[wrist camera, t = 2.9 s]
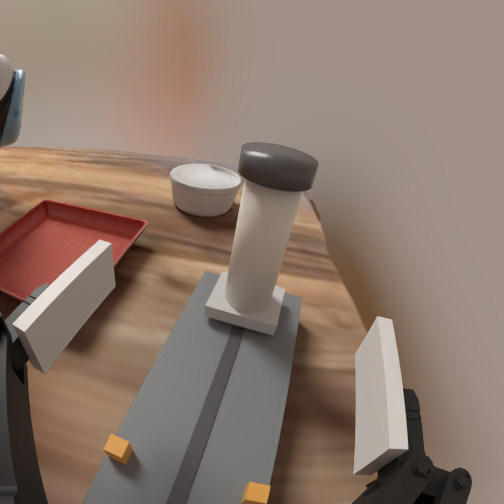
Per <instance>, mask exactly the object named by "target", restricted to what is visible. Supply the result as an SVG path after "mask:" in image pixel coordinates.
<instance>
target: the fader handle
mask: <svg viewBox="0 0 504 504" xmlns="http://www.w3.org/2000/svg"><path fill="white" fill-rule="evenodd" d="M317 167H318V161H317V160H316V159H315V158H313V157H312V156H310V155H308V154H306V153H304V152H301V151H299V150H296V149H293V148H290V147H286V146H282V145H277V144H270V143H260V142H258V143H257V142H254V143H246V144H244V145H243V146H242V150H241V155H240V160H239V166H238V172H239V174H240V175H241V176H243V177H244V178H245V182H244V187H243V193H242V198H241V203H240V209H239V214H238V220H237V225H236V231H235V236H234V242H233V248H232V253H231V259H230V265H229V271H228V273H227V272H223V271H222V273H221V275H220V277H219V279H218V281H217V283H216V285H215V287H214V289H213V291H212V293H211V295H210V297H209V299H208V301H207V303H206V305H205V313H204V316H207V317H210V318H213V319H217V320H220V321H223V322H227V323H230V324H234V325H237V326H241V327H244V328H248V329H251V330H255V331H258V332H262V333H266V334H269V335H273V336H274V333H275V331H276V328H277V324H278V319H279V315H280V310H281V305H282V300H283V296H284V291H285V288H281V287H278V286H275V285H276V281H277V278H278V275H279V271H280V268H281V264H282V261H283V257H284V254H285V250H286V247H287V243H288V240H289V236H290V233H291V229H292V225H293V222H294V218H295V215H296V211H297V207H298V204H299V200H300V196H301V193H302V191H307V190H309V189H311V188H312V186H313V182H314V178H315V175H316V171H317Z"/></svg>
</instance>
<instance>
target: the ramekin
mask: <svg viewBox="0 0 504 504" xmlns="http://www.w3.org/2000/svg"><path fill="white" fill-rule="evenodd" d="M170 180H171V183H172V194H173V200H174V203H175V204H176V205H177V207H178V208H179V209H180V210H182V211H184V212H186V213H188V214H191V215H195V216H202V217H213V216H218V215H222V214H224V213H225V212H227V211H228V210H229V209H230V208H231V207H232V204H233V202H234V199H235V197H236V194H237V191H238V190H239V188H240V186H241V179H240V177H239V176H238V175H237V174H235V173H234V172H232V171H230V170H228V169H225V168H222V167H219V166H214V165H208V164H186V165H181V166H178V167H176V168H174V169H173V170H172V171H171V172H170Z"/></svg>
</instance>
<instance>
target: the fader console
mask: <svg viewBox="0 0 504 504" xmlns="http://www.w3.org/2000/svg"><path fill="white" fill-rule="evenodd" d="M219 277H220V275H218V274H215V273H211V272H208V271H205V273H204V275H203V276H202V278H201V280H200V282H199V283H198V285H197V287H196V289H195V290H194V292H193V294H192V296H191V297H190V299H189V301H188V303H187V304H186V306H185V308H184V310H183V312H182V313H181V315H180V317H179V319H178V320H177V322H176V324H175V326H174V328H173V329H172V331H171V333H170V335H169V337H168V338H167V340H166V342H165V344H164V346H163V348H162V349H161V351H160V353H159V355H158V357H157V359H156V360H155V362H154V364H153V366H152V368H151V370H150V371H149V373H148V375H147V377H146V379H145V381H144V383H143V384H142V386H141V388H140V390H139V392H138V394H137V396H136V398H135V400H134V401H133V403H132V405H131V407H130V409H129V411H128V413H127V415H126V417H125V419H124V420H123V422H122V424H121V426H120V428H119V430H118V432H117V434H116V436H115V435H113V434H111V435H110V437H109V439H108V441H107V443H106V445H105V447H104V451H105V452H106V456H105V458H104V460H103V462H102V464H101V466H100V468H99V470H98V472H97V474H96V476H95V478H94V480H93V482H92V484H91V486H90V488H89V490H88V492H87V494H86V496H85V498H84V500H83V502H82V504H267V500H268V496H269V491H270V487H271V486H270V481H271V477H272V472H273V467H274V462H275V458H276V453H277V448H278V443H279V438H280V432H281V427H282V422H283V416H284V411H285V405H286V400H287V394H288V388H289V382H290V376H291V370H292V364H293V357H294V351H295V344H296V337H297V330H298V323H299V316H300V309H301V301H302V297H298V296H294V295H291V294H287V293H284V296H283V300H282V305H281V310H280V315H279V319H278V324H277V328H276V331H275V333H274V336H273V335H269V334H266V333H262V332H258V331H255V330H251V329H248V328H244V327H241V326H237V325H234V324H230V323H227V322H223V321H220V320H217V319H213V318H210V317H207V316H204V313H205V305H206V303H207V301H208V299H209V297H210V295H211V293H212V291H213V289H214V287H215V285H216V283H217V281H218V279H219Z"/></svg>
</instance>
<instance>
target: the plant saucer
mask: <svg viewBox="0 0 504 504" xmlns="http://www.w3.org/2000/svg"><path fill="white" fill-rule="evenodd" d="M147 224H148V223H147V221H145V220H141V219H137V218H132V217H128V216H123V215H118V214H114V213H109V212H105V211H100V210H95V209H91V208H86V207H82V206H77V205H72V204H67V203H62V202H58V201H53V200H43V201H41V202H39V203H38V204H37V205H35V206H34V207H33V208H31V209H30V210H29V211H28V212H26V213H25V214H24V215H22V216H21V217H20V218H18V219H17V220H16V221H15V222H13V223H12V224H11V225H10V226H8V227H7V228H6V229H5V230H4V231H2V232H1V233H0V292H2V293H4V294H6V295H8V296H10V297H12V298H14V299H17V300H19V301H21V302H24V300H25V299H26V298H27V297H28V296H30V294H31V293H32V292H33V291H34V290H35V289H36V288H38V287H40V286H42V285H43V284H45V283H47V284H49V285H51V284H52V283H53V282H54V281H55V280H56V279H57V278H58V277H59V276H60V275H61V274H62V273H63V272H64V271H65V270H67V269H68V268H69V267H70V266H71V265H72V264H73V263H74V262H75V261H76V260H77V259H78V258H80V257H81V256H82V255H83V254H84V253H85V252H86V251H87V250H88V249H90V248H91V247H92V246H93V245H94V244H95V243H96V242H97V241H99V240H103V241H106V242H109V243H112V254H113V265H114V268H115V267H116V266H117V264H118V263H119V262H120V260H121V259H122V258H123V256H124V255H125V254H126V253H127V251H128V250H129V249H130V248H131V246H132V245H133V244H134V242H135V241H136V240H137V239H138V237H139V236H140V235H141V233H142V232H143V231H144V229H145V228H146V226H147Z"/></svg>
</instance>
